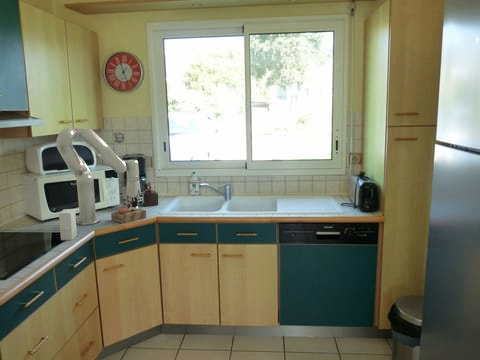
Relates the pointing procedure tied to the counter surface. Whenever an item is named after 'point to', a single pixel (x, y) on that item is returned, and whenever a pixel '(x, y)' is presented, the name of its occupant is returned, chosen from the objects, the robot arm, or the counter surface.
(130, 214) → the button box
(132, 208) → the grey plunger
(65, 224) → the skincare box
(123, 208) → the red plunger
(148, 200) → the brown storage container
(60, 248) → the counter surface
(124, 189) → the coffee box
